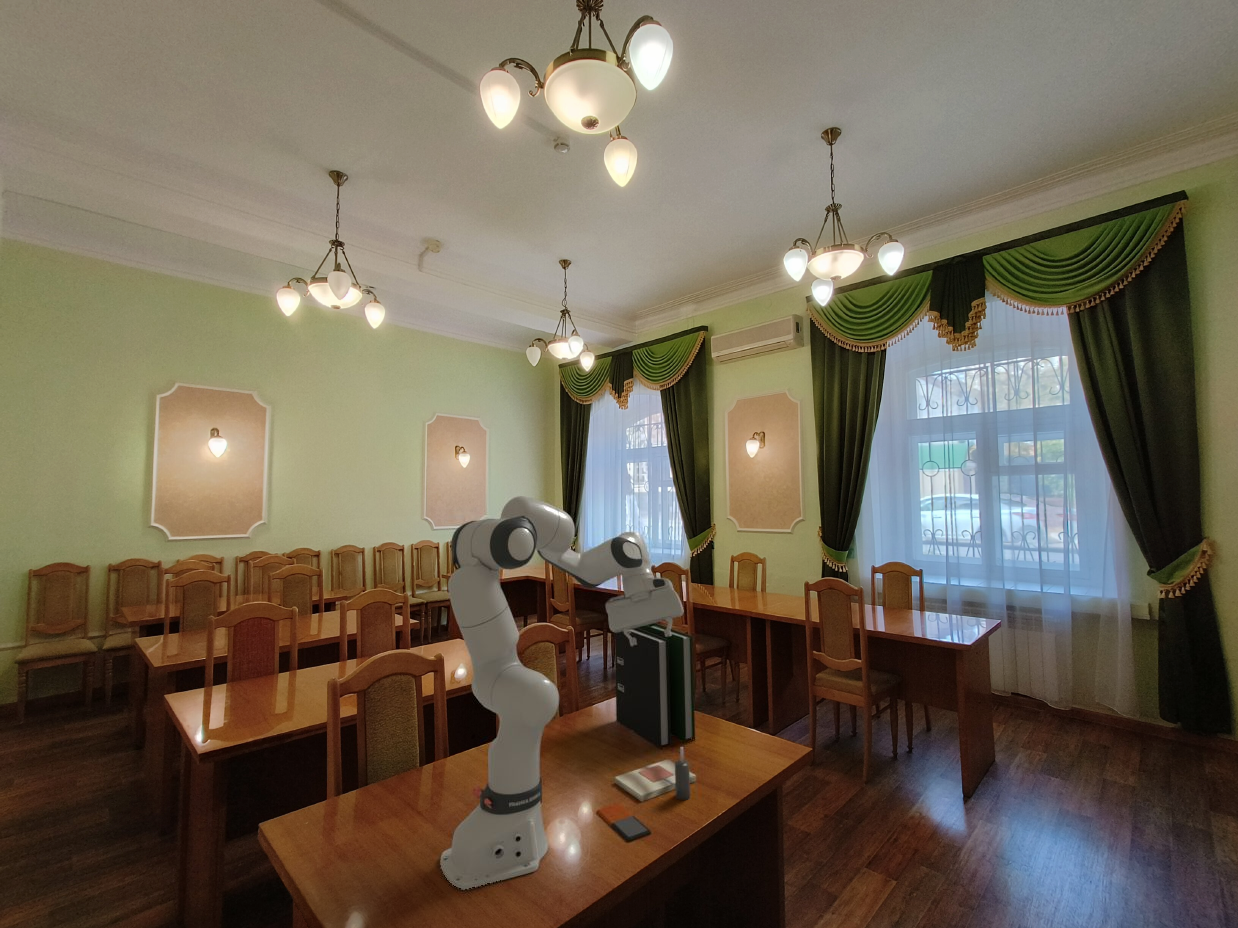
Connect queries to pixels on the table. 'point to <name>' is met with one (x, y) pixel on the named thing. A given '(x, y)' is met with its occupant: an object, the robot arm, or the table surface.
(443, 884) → the table surface
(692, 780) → the cream flat block
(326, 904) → the table surface
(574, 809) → the table surface
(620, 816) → the phone
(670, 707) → the binder
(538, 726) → the robot arm
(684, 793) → the grey cylinder with rod
